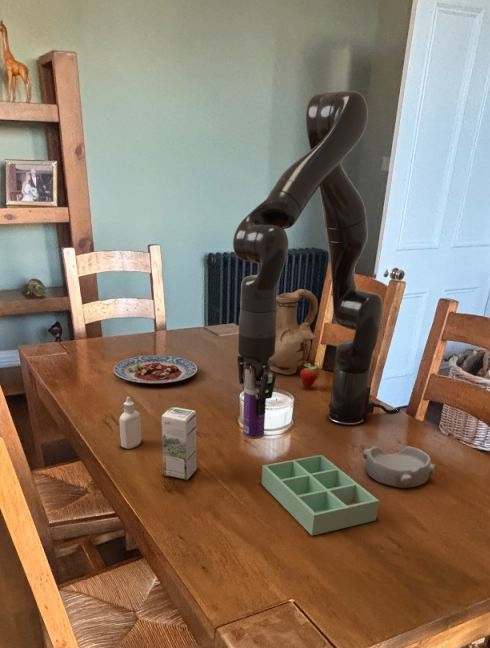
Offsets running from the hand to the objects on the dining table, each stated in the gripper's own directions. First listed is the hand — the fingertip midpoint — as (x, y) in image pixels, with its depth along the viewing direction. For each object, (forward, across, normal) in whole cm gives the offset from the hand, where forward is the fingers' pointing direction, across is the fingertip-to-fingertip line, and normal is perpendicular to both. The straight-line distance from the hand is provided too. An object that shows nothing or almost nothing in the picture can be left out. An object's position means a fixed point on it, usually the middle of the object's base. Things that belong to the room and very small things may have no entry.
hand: (254, 409), depth 132 cm
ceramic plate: (+14, +67, +1) cm, 68 cm away
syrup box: (+14, +3, +16) cm, 22 cm away
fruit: (+15, +40, -38) cm, 57 cm away
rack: (+14, -19, -6) cm, 24 cm away
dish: (+14, -16, -29) cm, 36 cm away
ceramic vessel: (+15, +58, -38) cm, 71 cm away
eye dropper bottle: (+14, +21, +22) cm, 34 cm away
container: (+6, 0, 0) cm, 6 cm away
